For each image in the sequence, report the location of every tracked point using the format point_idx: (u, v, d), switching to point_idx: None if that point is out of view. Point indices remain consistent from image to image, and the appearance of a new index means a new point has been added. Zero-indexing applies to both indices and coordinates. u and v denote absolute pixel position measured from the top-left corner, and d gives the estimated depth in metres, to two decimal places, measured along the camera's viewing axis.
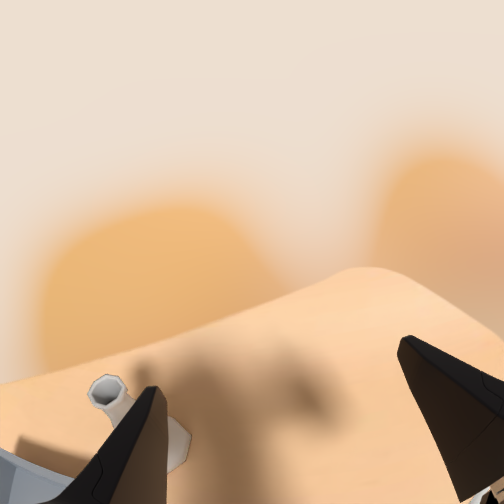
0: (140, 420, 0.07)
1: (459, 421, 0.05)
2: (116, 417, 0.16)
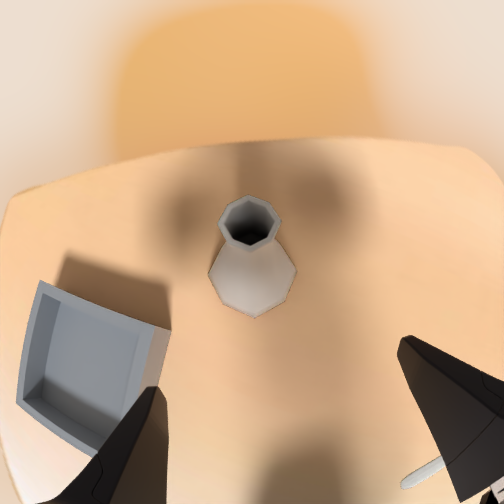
0: (140, 420, 0.07)
1: (459, 421, 0.05)
2: (247, 256, 0.16)
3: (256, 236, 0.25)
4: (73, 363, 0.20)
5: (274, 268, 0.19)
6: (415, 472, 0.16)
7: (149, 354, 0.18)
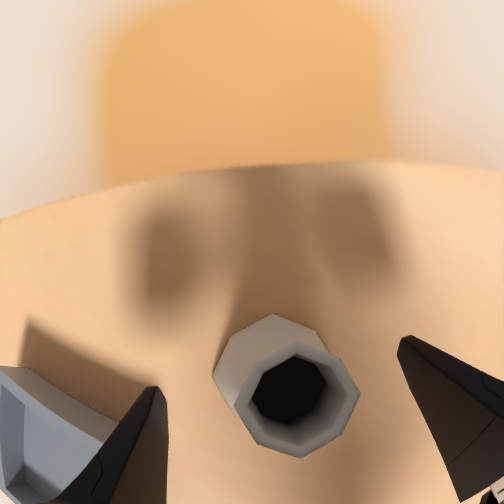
0: (140, 420, 0.07)
1: (459, 421, 0.05)
2: (286, 427, 0.08)
3: None
4: (52, 459, 0.12)
5: None
6: None
7: None
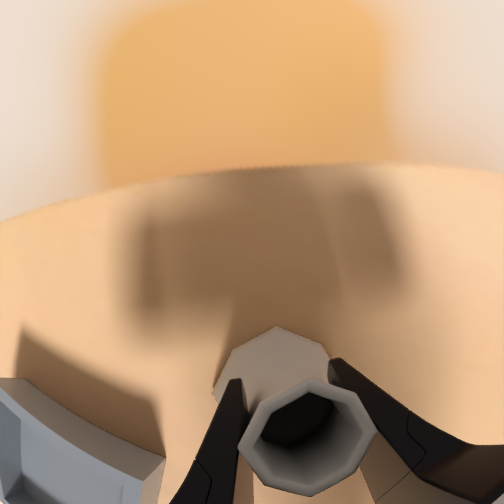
0: (236, 415, 0.07)
1: (378, 462, 0.05)
2: (294, 459, 0.07)
3: None
4: (50, 471, 0.11)
5: (325, 424, 0.09)
6: None
7: None
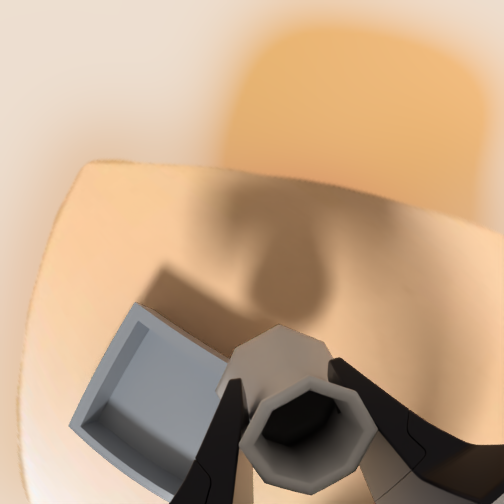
0: (236, 415, 0.07)
1: (378, 462, 0.05)
2: (295, 457, 0.07)
3: None
4: (156, 399, 0.19)
5: (327, 423, 0.09)
6: None
7: None
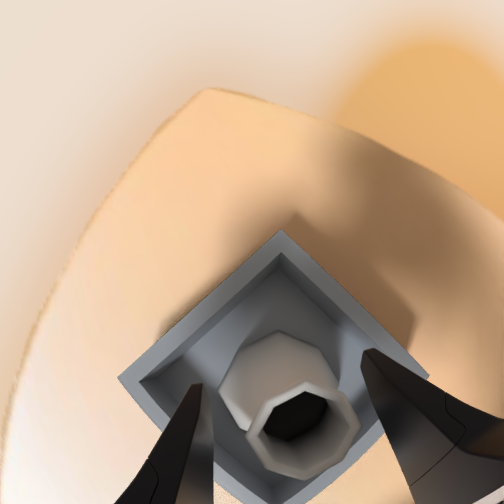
0: (191, 419, 0.07)
1: (418, 444, 0.05)
2: (291, 449, 0.08)
3: None
4: None
5: (320, 421, 0.11)
6: None
7: None
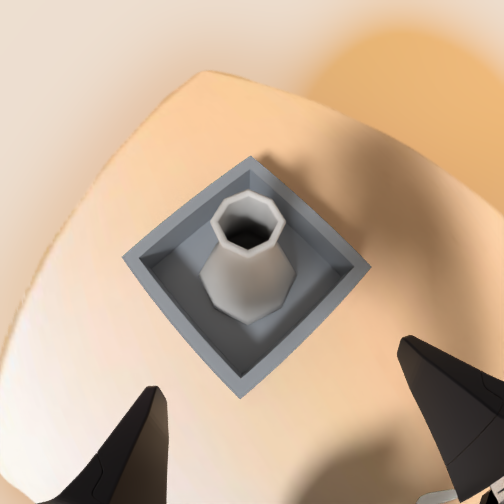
0: (140, 420, 0.07)
1: (459, 421, 0.05)
2: (244, 260, 0.14)
3: (254, 234, 0.23)
4: None
5: (273, 273, 0.17)
6: (431, 493, 0.15)
7: (352, 288, 0.19)
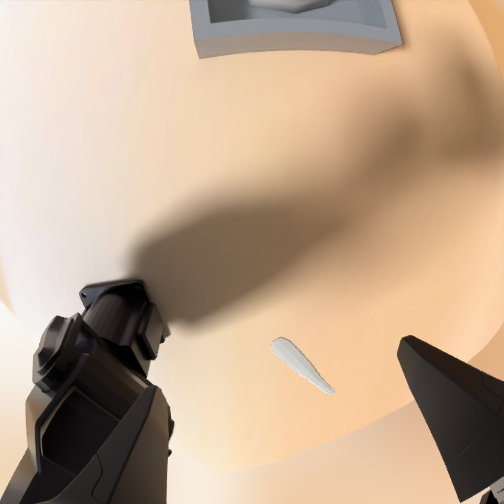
0: (140, 420, 0.07)
1: (459, 421, 0.05)
2: None
3: None
4: None
5: None
6: (292, 345, 0.25)
7: (372, 40, 0.12)
